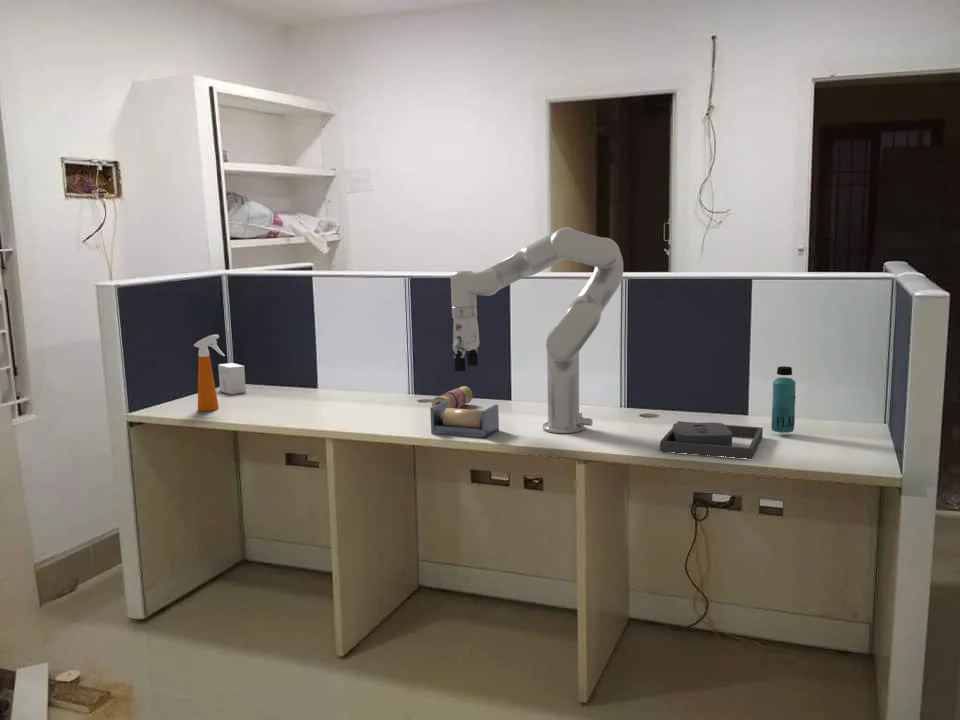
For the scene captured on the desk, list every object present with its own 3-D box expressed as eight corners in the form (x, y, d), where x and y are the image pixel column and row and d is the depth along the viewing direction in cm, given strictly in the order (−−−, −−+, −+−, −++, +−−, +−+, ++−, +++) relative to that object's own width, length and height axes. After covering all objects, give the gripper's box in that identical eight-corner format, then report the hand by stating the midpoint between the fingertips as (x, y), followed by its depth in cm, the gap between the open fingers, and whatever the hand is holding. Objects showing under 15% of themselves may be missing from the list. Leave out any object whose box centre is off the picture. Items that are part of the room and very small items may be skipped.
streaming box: (671, 440, 248) (671, 422, 247) (722, 440, 247) (723, 422, 246) (679, 454, 233) (679, 435, 232) (734, 453, 232) (734, 435, 231)
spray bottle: (225, 410, 299) (220, 335, 295) (194, 411, 299) (188, 336, 295) (231, 406, 306) (226, 332, 302) (201, 407, 306) (195, 333, 302)
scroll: (453, 414, 280) (480, 401, 297) (444, 393, 280) (471, 381, 298) (435, 422, 283) (462, 409, 301) (425, 401, 284) (454, 389, 301)
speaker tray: (762, 437, 247) (762, 427, 246) (751, 460, 225) (752, 449, 225) (677, 431, 257) (678, 421, 256) (660, 452, 235) (660, 441, 235)
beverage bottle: (773, 437, 246) (775, 368, 243) (768, 432, 253) (770, 364, 250) (796, 438, 246) (799, 368, 242) (791, 432, 252) (794, 364, 249)
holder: (498, 430, 263) (498, 404, 262) (485, 438, 254) (485, 411, 253) (445, 425, 270) (445, 400, 269) (431, 433, 261) (430, 407, 260)
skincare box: (246, 392, 331) (244, 365, 329) (230, 394, 327) (228, 367, 325) (235, 388, 339) (233, 362, 337) (219, 391, 335) (217, 364, 333)
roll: (487, 427, 262) (486, 408, 261) (479, 433, 257) (478, 413, 256) (451, 424, 267) (450, 405, 266) (443, 429, 262) (442, 410, 261)
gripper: (464, 315, 251) (467, 373, 254) (486, 309, 266) (488, 363, 269) (441, 315, 253) (443, 372, 256) (464, 308, 269) (466, 362, 272)
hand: (466, 368), depth 263 cm, fingers open, 9 cm apart
